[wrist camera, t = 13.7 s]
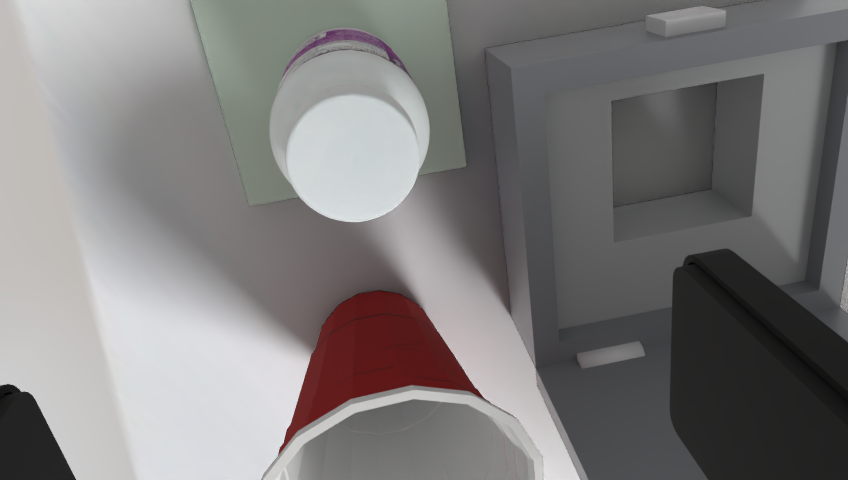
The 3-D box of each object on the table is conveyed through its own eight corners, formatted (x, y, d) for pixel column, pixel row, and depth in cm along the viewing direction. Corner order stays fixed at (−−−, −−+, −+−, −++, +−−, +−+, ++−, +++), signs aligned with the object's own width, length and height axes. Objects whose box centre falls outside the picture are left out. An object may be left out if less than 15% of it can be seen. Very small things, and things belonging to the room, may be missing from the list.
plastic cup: (505, 379, 36) (580, 568, 26) (322, 443, 36) (320, 657, 26) (448, 211, 31) (511, 357, 21) (238, 285, 32) (192, 469, 21)
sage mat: (438, -46, 26) (441, -46, 26) (464, 162, 30) (466, 166, 30) (192, -6, 26) (189, -4, 25) (250, 201, 30) (249, 206, 29)
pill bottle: (412, 145, 29) (446, 237, 21) (291, 156, 29) (275, 254, 20) (404, 19, 27) (440, 62, 18) (273, 28, 26) (246, 77, 18)
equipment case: (814, -23, 29) (1465, 40, 12) (779, 279, 36) (1168, 581, 19) (483, 34, 28) (707, 183, 12) (512, 332, 35) (679, 695, 18)
